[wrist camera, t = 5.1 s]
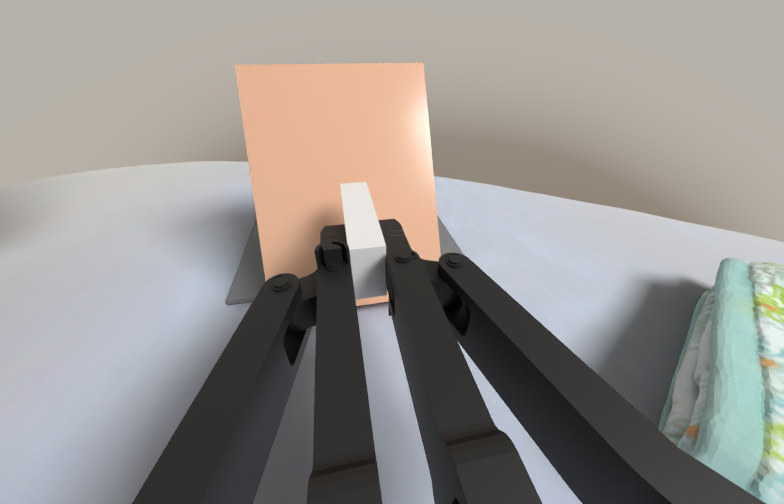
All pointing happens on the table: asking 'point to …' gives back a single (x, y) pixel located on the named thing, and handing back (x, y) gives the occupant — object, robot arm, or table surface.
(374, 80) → the terracotta slab
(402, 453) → the table surface
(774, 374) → the towel
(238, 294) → the charcoal mat
